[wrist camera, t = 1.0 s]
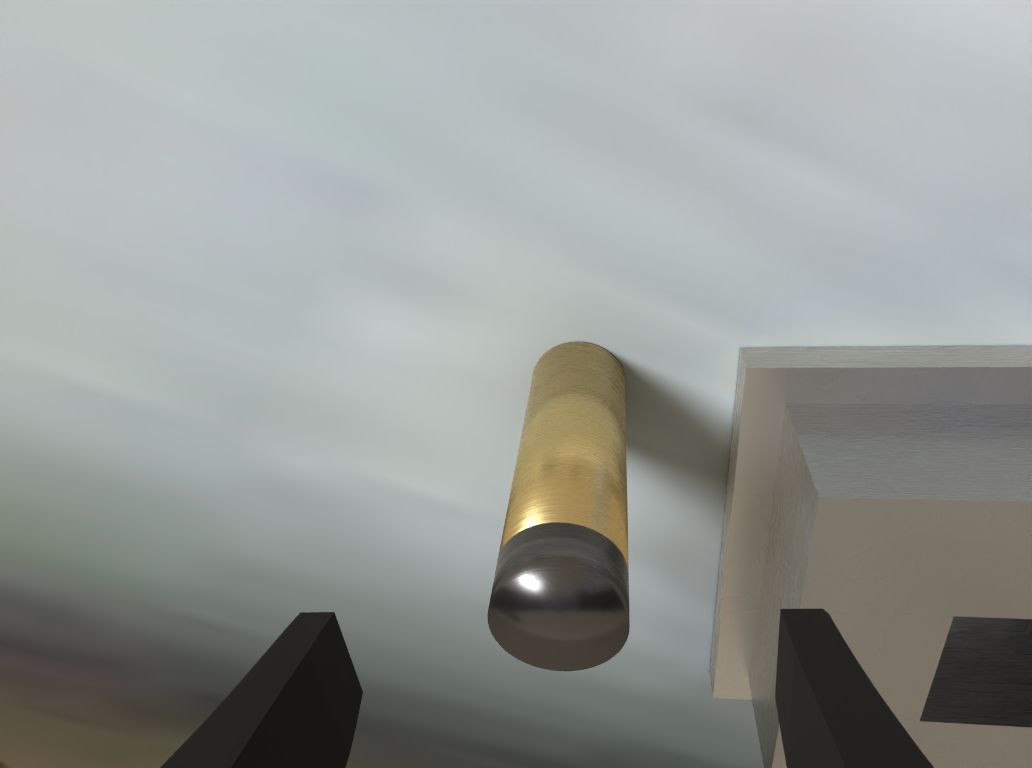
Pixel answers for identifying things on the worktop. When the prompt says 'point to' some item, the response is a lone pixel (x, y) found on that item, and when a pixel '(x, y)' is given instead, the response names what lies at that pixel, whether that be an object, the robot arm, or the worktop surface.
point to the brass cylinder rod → (567, 518)
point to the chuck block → (887, 536)
